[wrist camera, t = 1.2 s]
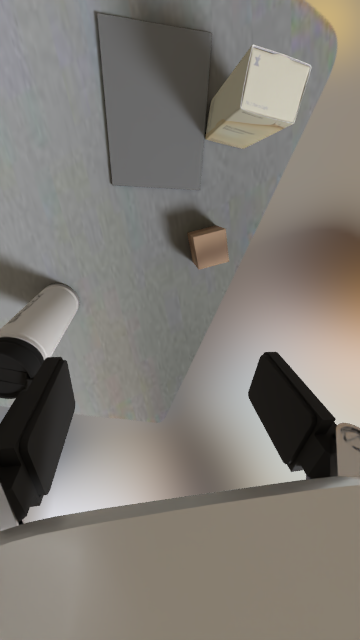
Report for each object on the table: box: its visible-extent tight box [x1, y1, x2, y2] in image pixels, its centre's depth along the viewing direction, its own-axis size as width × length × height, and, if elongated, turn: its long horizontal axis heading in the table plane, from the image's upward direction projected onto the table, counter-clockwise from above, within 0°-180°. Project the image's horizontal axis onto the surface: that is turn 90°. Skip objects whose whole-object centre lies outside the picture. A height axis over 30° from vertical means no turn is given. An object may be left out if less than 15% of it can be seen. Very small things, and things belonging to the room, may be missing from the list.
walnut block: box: [187, 225, 229, 269], centre depth 36 cm, size 5×5×5 cm
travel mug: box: [0, 284, 80, 399], centre depth 30 cm, size 6×7×20 cm
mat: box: [97, 13, 212, 190], centre depth 29 cm, size 16×13×1 cm
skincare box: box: [205, 45, 311, 149], centre depth 25 cm, size 6×4×12 cm
